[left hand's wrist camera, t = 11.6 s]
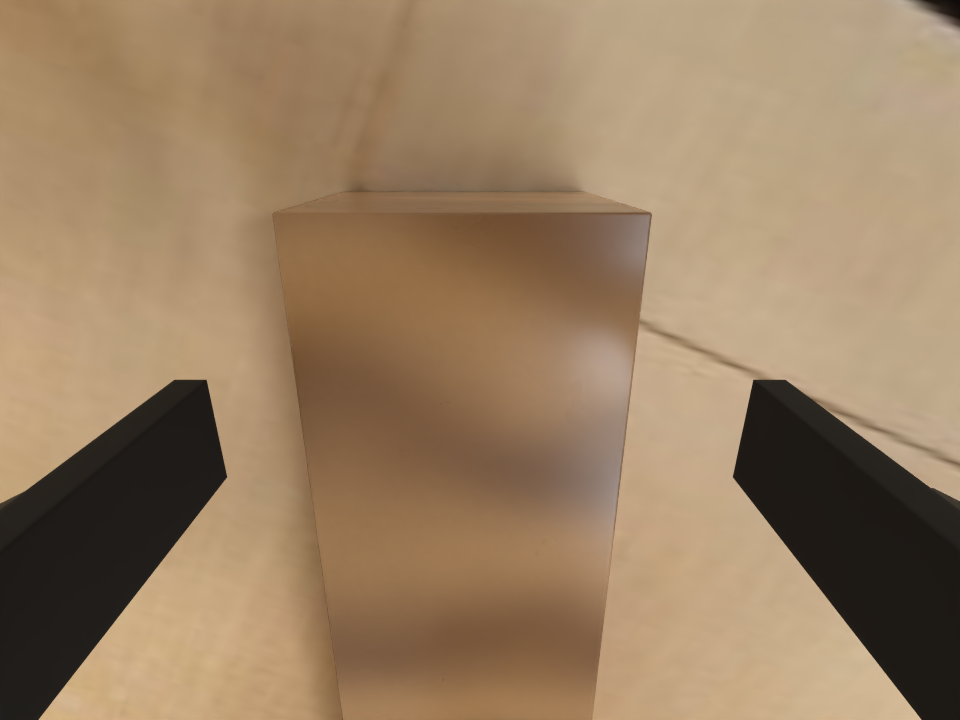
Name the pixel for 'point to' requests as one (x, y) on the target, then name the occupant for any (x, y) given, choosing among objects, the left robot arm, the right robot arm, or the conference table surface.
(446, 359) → the brown wooden bar
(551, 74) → the conference table surface
